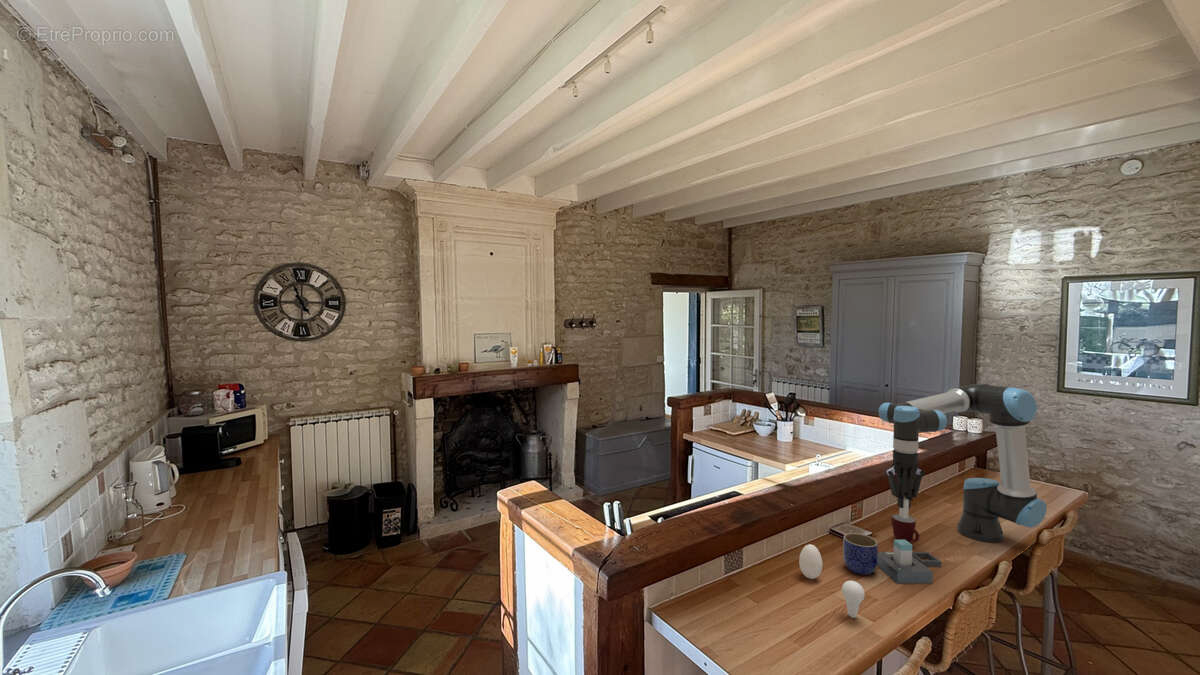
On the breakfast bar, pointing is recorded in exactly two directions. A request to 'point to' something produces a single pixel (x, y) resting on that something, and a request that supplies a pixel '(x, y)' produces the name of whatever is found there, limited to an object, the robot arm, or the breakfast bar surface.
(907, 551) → the plug
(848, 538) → the planter
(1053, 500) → the breakfast bar surface
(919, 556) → the holster
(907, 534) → the mug
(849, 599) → the lightbulb
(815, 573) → the egg
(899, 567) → the panel
